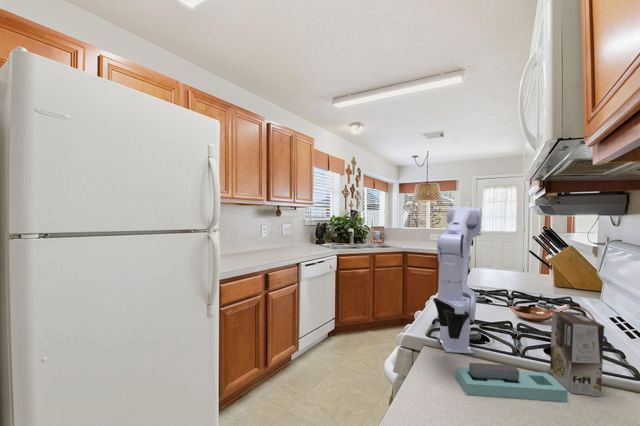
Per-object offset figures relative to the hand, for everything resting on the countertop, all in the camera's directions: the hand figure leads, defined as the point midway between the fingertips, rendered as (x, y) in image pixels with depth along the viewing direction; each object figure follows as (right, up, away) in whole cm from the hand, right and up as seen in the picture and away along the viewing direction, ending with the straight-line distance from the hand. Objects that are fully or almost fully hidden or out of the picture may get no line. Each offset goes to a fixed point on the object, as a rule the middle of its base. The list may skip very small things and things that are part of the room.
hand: (448, 331), depth 79 cm
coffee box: (+27, -10, -6) cm, 30 cm away
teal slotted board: (+10, -10, -9) cm, 17 cm away
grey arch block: (+7, -10, -8) cm, 14 cm away
